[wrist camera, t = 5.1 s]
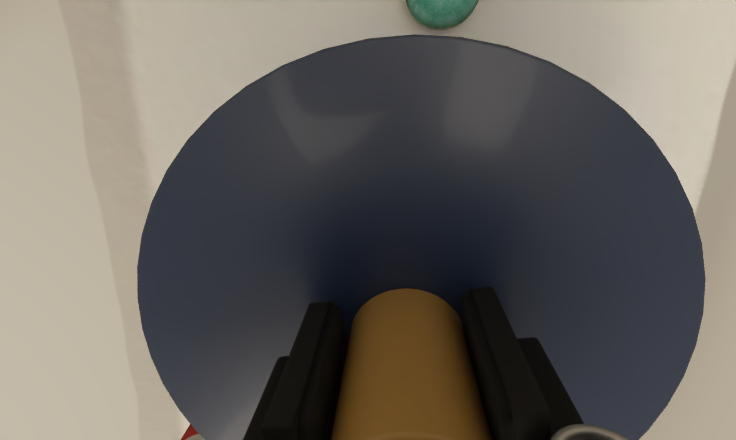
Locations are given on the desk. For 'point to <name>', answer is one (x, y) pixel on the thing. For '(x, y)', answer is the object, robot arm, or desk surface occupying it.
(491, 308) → the robot arm
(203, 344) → the tin lid
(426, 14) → the whale figurine
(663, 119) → the desk surface
